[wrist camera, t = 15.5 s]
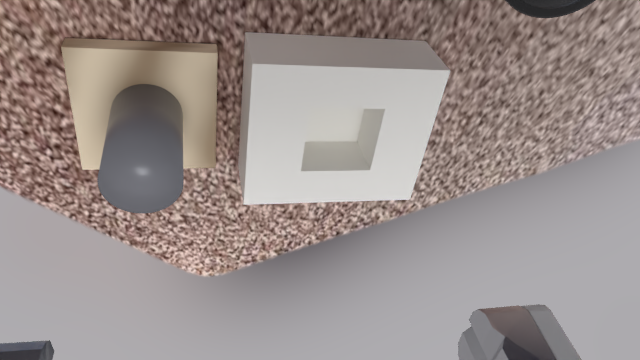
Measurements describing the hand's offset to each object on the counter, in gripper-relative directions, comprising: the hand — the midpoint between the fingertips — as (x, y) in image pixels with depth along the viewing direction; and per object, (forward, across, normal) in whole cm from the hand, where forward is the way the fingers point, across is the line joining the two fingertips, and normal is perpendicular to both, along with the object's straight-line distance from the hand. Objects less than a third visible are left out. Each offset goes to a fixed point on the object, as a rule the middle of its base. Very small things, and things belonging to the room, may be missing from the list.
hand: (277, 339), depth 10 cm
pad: (+30, +6, +13) cm, 33 cm away
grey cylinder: (+28, +6, +13) cm, 32 cm away
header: (+30, -8, +13) cm, 34 cm away
